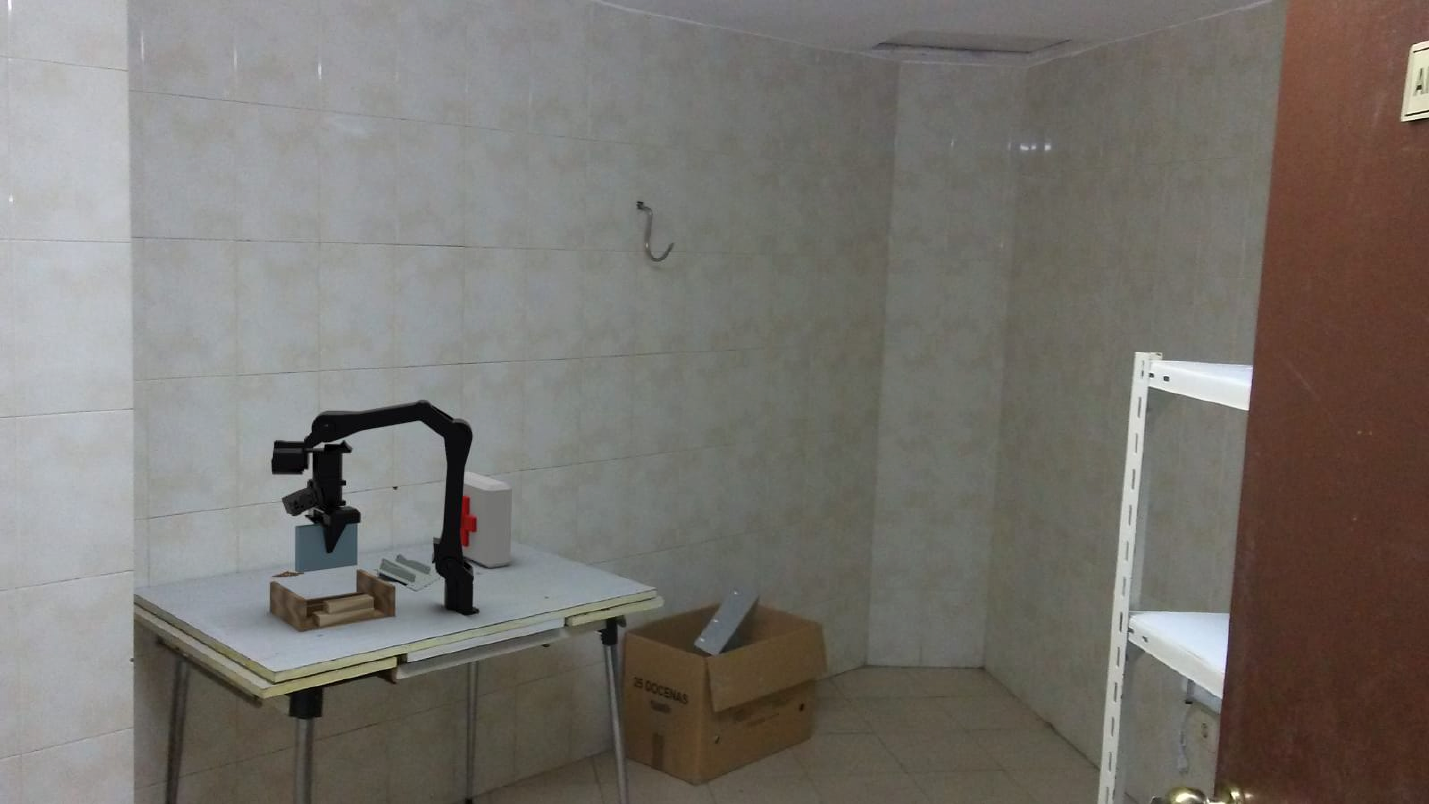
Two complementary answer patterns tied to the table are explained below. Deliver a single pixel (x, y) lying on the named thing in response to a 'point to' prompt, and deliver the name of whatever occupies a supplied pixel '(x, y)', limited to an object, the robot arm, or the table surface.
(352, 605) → the upper offcut
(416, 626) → the table surface
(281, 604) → the rack
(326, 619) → the lower offcut
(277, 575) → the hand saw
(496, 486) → the bevelled white case
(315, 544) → the panel
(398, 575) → the metal bracket
